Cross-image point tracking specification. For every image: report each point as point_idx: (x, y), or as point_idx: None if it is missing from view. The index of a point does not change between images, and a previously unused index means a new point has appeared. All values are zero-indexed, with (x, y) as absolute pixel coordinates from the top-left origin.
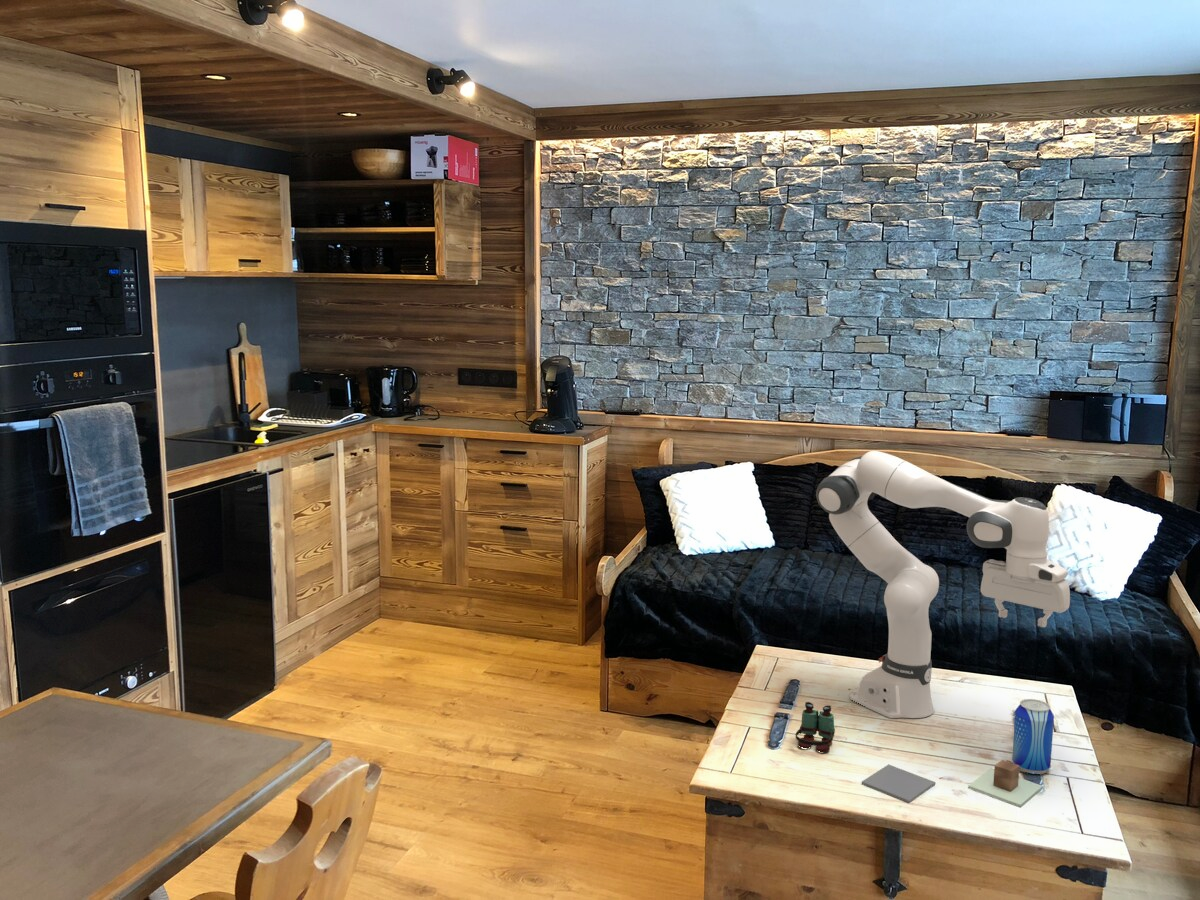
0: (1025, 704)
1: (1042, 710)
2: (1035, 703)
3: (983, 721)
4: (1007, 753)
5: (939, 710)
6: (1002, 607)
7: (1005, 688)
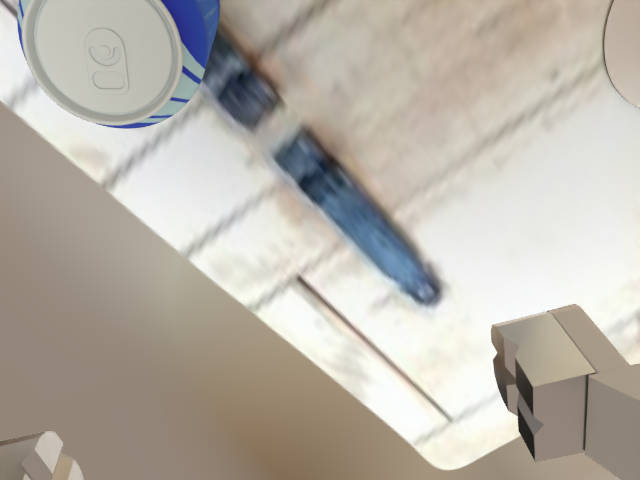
0: (140, 19)
1: (24, 16)
2: (124, 75)
3: (461, 159)
4: (272, 26)
5: (599, 104)
6: (618, 447)
7: None
